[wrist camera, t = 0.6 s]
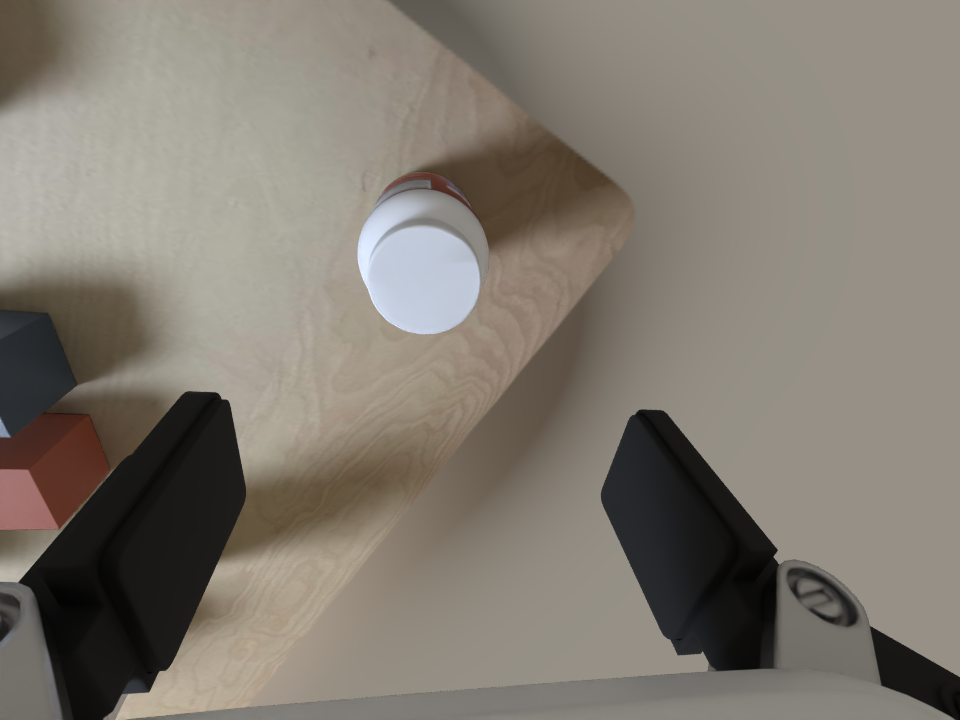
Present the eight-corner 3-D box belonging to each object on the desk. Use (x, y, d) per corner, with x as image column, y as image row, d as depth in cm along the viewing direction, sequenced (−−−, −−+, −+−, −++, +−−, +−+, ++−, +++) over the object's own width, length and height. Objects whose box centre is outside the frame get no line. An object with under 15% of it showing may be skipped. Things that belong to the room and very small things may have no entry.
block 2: (-1, 411, 30) (-81, 468, 25) (89, 414, 31) (28, 469, 26) (29, 469, 32) (-38, 530, 28) (111, 470, 33) (59, 529, 28)
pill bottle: (484, 254, 28) (517, 326, 19) (397, 283, 28) (385, 369, 19) (455, 155, 25) (476, 181, 15) (356, 188, 25) (318, 235, 16)
